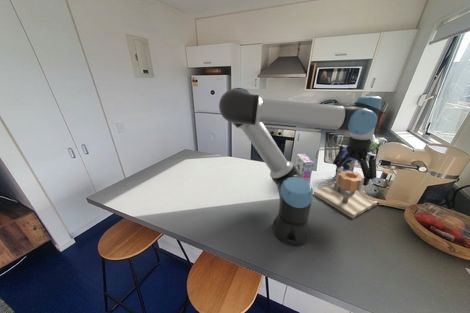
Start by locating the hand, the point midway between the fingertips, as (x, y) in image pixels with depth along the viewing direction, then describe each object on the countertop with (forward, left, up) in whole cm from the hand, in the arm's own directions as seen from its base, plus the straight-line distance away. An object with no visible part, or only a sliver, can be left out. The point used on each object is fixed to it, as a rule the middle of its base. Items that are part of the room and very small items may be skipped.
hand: (349, 184), depth 78 cm
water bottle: (+33, +20, -17) cm, 42 cm away
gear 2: (+17, +10, -14) cm, 25 cm away
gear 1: (0, 0, 0) cm, 0 cm away
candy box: (+7, +31, -17) cm, 36 cm away
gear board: (+14, +6, -16) cm, 23 cm away
